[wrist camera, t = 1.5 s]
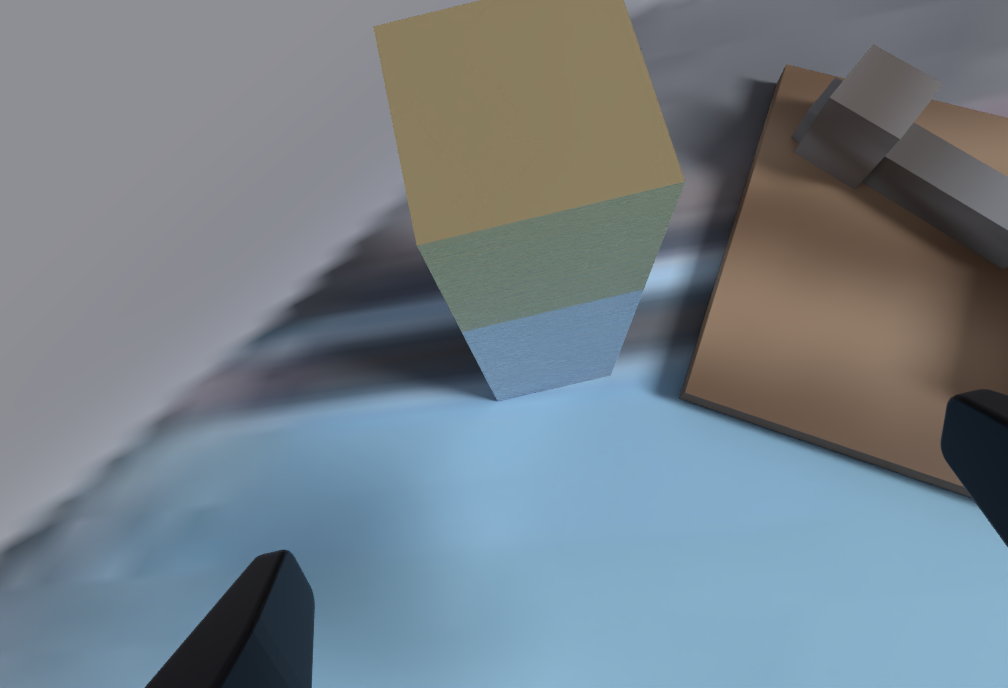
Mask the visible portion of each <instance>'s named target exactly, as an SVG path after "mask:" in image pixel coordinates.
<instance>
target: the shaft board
mask: <svg viewBox="0 0 1008 688" xmlns="http://www.w3.org/2000/svg"><path fill="white" fill-rule="evenodd" d="M943 85H944V84H943V83H941V82H939V81H938V80H936V79H934V78H932V77H931V76H929V75H927V74H925V73H923V72H922V71H920V70H918V69H916V68H914V67H913V66H911V65H909V64H907V63H906V62H904V61H902V60H900V59H898V58H897V57H895V56H893V55H891V54H889V53H888V52H886V51H884V50H882V49H881V48H879V47H877V46H875V45H872V47H871V48H870V49H869V50H868V51H867V53H866V54H865V55H864V56H863V57H862V59H861V60H860V61H859V62H858V64H857V65H856V66H855V67H854V68H853V70H852V71H851V72H850V73H849V74H848V76H847V77H846V78H845V79H844V78H840V77H836V76H832V75H828V74H824V73H820V72H815V71H811V70H807V69H803V68H799V67H795V66H791V65H787V64H786V66H785V68H784V70H783V72H782V74H781V76H780V78H779V80H778V82H777V85H776V88H775V91H774V95H773V98H772V101H771V104H770V108H769V111H768V114H767V117H766V120H765V124H764V127H763V130H762V133H761V137H760V140H759V143H758V146H757V149H756V153H755V156H754V159H753V162H752V165H751V169H750V172H749V175H748V178H747V182H746V185H745V188H744V191H743V194H742V198H741V201H740V204H739V207H738V211H737V214H736V217H735V220H734V223H733V227H732V230H731V233H730V236H729V240H728V243H727V246H726V249H725V252H724V256H723V259H722V262H721V265H720V269H719V272H718V275H717V278H716V281H715V285H714V288H713V291H712V294H711V298H710V301H709V304H708V307H707V310H706V314H705V317H704V320H703V323H702V327H701V330H700V333H699V336H698V339H697V343H696V346H695V349H694V352H693V356H692V359H691V362H690V365H689V368H688V372H687V375H686V378H685V381H684V384H683V388H682V391H681V394H680V397H679V398H680V399H683V400H686V401H689V402H692V403H695V404H698V405H701V406H704V407H706V408H709V409H712V410H715V411H718V412H721V413H724V414H727V415H730V416H733V417H736V418H739V419H742V420H745V421H748V422H751V423H754V424H756V425H759V426H762V427H765V428H768V429H771V430H774V431H777V432H780V433H783V434H786V435H789V436H792V437H795V438H798V439H801V440H804V441H807V442H809V443H812V444H815V445H818V446H821V447H824V448H827V449H830V450H833V451H836V452H839V453H842V454H845V455H848V456H851V457H854V458H857V459H859V460H862V461H865V462H868V463H871V464H874V465H877V466H880V467H883V468H886V469H889V470H892V471H895V472H898V473H901V474H904V475H907V476H909V477H912V478H915V479H918V480H921V481H924V482H927V483H930V484H933V485H936V486H939V487H942V488H945V489H948V490H951V491H954V492H957V493H960V494H962V495H965V496H968V497H971V496H970V494H969V493H968V492H967V490H966V489H965V487H964V486H963V485H962V483H961V482H960V480H959V479H958V478H957V476H956V475H955V473H954V472H953V471H952V469H951V468H950V467H949V465H948V464H947V462H946V461H945V459H944V457H943V455H942V451H941V445H940V441H941V435H942V429H943V423H944V417H945V411H946V406H947V402H948V401H949V399H950V398H951V397H952V396H954V395H956V394H960V393H965V392H969V391H973V390H978V389H989V390H992V391H996V392H999V393H1003V394H1006V395H1008V118H1005V117H1001V116H997V115H993V114H989V113H985V112H980V111H976V110H972V109H968V108H964V107H960V106H956V105H952V104H947V103H943V102H939V101H935V100H932V99H933V97H934V96H935V95H936V94H937V92H938V91H939V90H940V88H941V87H942V86H943ZM971 498H972V497H971Z"/></svg>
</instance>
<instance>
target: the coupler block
mask: <svg viewBox="0 0 1008 688" xmlns="http://www.w3.org/2000/svg"><path fill="white" fill-rule="evenodd" d="M374 32H375V37H376V42H377V47H378V52H379V57H380V62H381V67H382V72H383V77H384V82H385V87H386V92H387V98H388V103H389V108H390V113H391V118H392V123H393V128H394V133H395V138H396V143H397V148H398V153H399V158H400V163H401V168H402V174H403V179H404V184H405V189H406V194H407V199H408V204H409V209H410V214H411V219H412V224H413V229H414V234H415V239H416V244H417V247H418V249H419V251H420V253H421V255H422V257H423V259H424V261H425V262H426V264H427V266H428V268H429V270H430V272H431V274H432V276H433V278H434V280H435V282H436V284H437V286H438V288H439V289H440V291H441V293H442V295H443V297H444V299H445V301H446V303H447V305H448V307H449V309H450V311H451V313H452V315H453V316H454V318H455V320H456V322H457V324H458V326H459V328H460V330H461V332H462V334H463V336H464V338H465V340H466V341H467V343H468V345H469V347H470V349H471V351H472V353H473V355H474V357H475V359H476V361H477V363H478V365H479V367H480V368H481V370H482V372H483V374H484V376H485V378H486V380H487V382H488V384H489V386H490V388H491V390H492V392H493V393H494V395H495V397H496V399H497V401H501V400H506V399H510V398H514V397H518V396H523V395H527V394H531V393H536V392H540V391H544V390H548V389H553V388H557V387H561V386H566V385H570V384H574V383H578V382H583V381H587V380H591V379H596V378H600V377H604V376H608V375H611V373H612V370H613V368H614V365H615V363H616V360H617V357H618V355H619V352H620V350H621V347H622V344H623V342H624V339H625V337H626V334H627V331H628V329H629V326H630V324H631V321H632V318H633V316H634V313H635V311H636V308H637V305H638V303H639V300H640V298H641V295H642V292H643V290H644V287H645V285H646V282H647V279H648V277H649V274H650V272H651V269H652V266H653V264H654V261H655V259H656V256H657V253H658V251H659V248H660V246H661V243H662V240H663V238H664V235H665V233H666V230H667V227H668V225H669V222H670V220H671V217H672V214H673V212H674V209H675V207H676V204H677V201H678V199H679V196H680V194H681V191H682V188H683V186H684V183H685V180H684V177H683V174H682V171H681V168H680V165H679V162H678V159H677V156H676V153H675V150H674V147H673V144H672V141H671V138H670V135H669V132H668V129H667V127H666V124H665V121H664V118H663V115H662V112H661V109H660V106H659V103H658V100H657V97H656V94H655V91H654V88H653V85H652V82H651V79H650V76H649V73H648V71H647V68H646V65H645V62H644V59H643V56H642V53H641V50H640V47H639V44H638V41H637V38H636V35H635V32H634V29H633V26H632V23H631V20H630V17H629V15H628V12H627V9H626V6H625V3H624V0H480V1H476V2H472V3H467V4H463V5H459V6H455V7H452V8H447V9H443V10H440V11H436V12H431V13H427V14H423V15H419V16H415V17H411V18H406V19H402V20H398V21H394V22H390V23H386V24H382V25H378V26H374Z"/></svg>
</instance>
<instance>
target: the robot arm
mask: <svg viewBox="0 0 1008 688" xmlns="http://www.w3.org/2000/svg"><path fill="white" fill-rule="evenodd" d="M940 445H941V451H942V455H943V457H944V459H945V461H946V462H947V464H948V465H949V467H950V468H951V469H952V471H953V472H954V473H955V475H956V476H957V478H958V479H959V480H960V482H961V483H962V485H963V486H964V487H965V489H966V490H967V492H968V493H969V494H970V496H971V497H972V498H973V500H974V501H975V503H976V504H977V505H978V507H979V508H980V510H981V511H982V512H983V514H984V515H985V516H986V518H987V519H988V521H989V522H990V523H991V525H992V526H993V528H994V529H995V530H996V532H997V533H998V535H999V536H1000V537H1001V539H1002V540H1003V541H1004V543H1005V544H1006V545H1007V547H1008V395H1006V394H1003V393H999V392H996V391H992V390H989V389H978V390H973V391H969V392H965V393H960V394H956V395H954V396H952V397H951V398H950V399H949V401H948V402H947V406H946V411H945V417H944V423H943V429H942V435H941V441H940ZM314 609H315V603H314V595H313V592H312V589H311V586H310V584H309V583H308V581H307V579H306V577H305V575H304V573H303V572H302V570H301V568H300V566H299V564H298V562H297V561H296V559H295V557H294V556H293V554H292V553H291V552H290V551H288V550H279V551H275V552H271V553H266V554H262V555H260V556H258V557H256V558H255V559H254V560H253V561H252V562H251V564H250V565H249V566H248V567H247V568H246V569H245V571H244V572H243V573H242V574H241V575H240V576H239V578H238V579H237V580H236V581H235V582H234V583H233V585H232V586H231V587H230V588H229V589H228V591H227V592H226V593H225V594H224V595H223V596H222V598H221V599H220V600H219V601H218V602H217V603H216V605H215V606H214V607H213V608H212V609H211V610H210V612H209V613H208V614H207V615H206V616H205V618H204V619H203V620H202V621H201V622H200V623H199V625H198V626H197V627H196V628H195V629H194V630H193V632H192V633H191V634H190V635H189V636H188V637H187V639H186V640H185V641H184V642H183V643H182V644H181V646H180V647H179V648H178V649H177V650H176V652H175V653H174V654H173V655H172V656H171V657H170V659H169V660H168V661H167V662H166V663H165V664H164V666H163V667H162V668H161V669H160V670H159V671H158V673H157V674H156V675H155V676H154V677H153V678H152V680H151V681H150V682H149V683H148V684H147V686H146V687H145V688H312V664H313V636H314Z"/></svg>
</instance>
